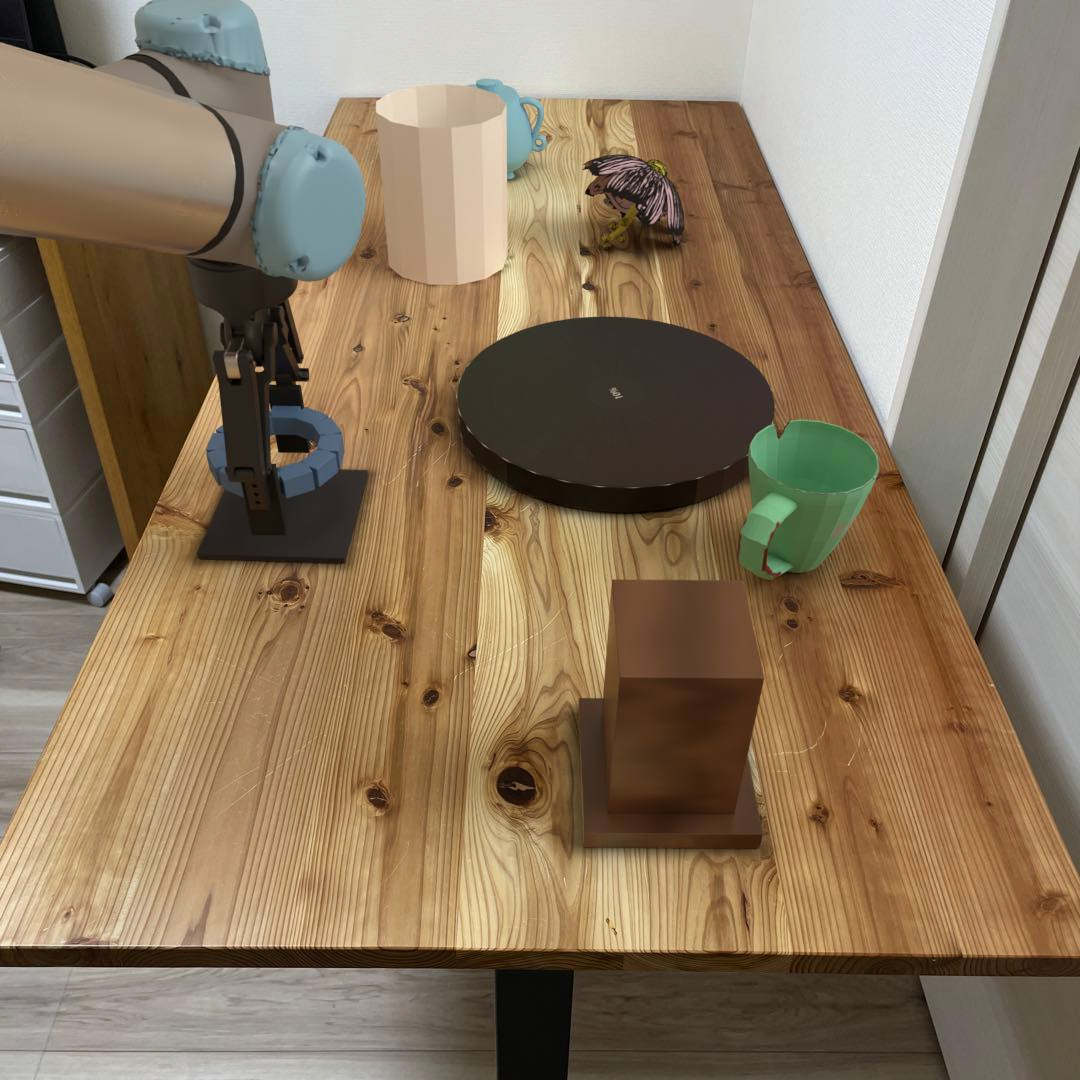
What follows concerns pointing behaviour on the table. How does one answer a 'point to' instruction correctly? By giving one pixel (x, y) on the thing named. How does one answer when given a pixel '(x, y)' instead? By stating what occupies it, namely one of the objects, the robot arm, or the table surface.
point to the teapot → (517, 123)
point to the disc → (613, 413)
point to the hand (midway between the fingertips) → (282, 489)
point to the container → (444, 182)
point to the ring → (297, 474)
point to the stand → (673, 720)
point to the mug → (803, 495)
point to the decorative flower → (636, 194)
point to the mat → (291, 525)
